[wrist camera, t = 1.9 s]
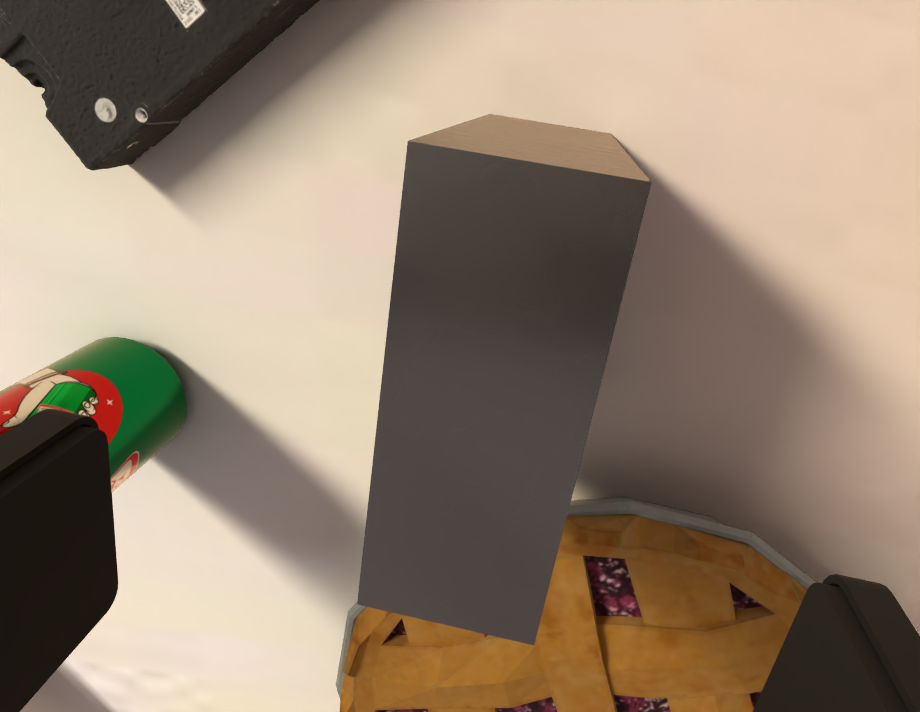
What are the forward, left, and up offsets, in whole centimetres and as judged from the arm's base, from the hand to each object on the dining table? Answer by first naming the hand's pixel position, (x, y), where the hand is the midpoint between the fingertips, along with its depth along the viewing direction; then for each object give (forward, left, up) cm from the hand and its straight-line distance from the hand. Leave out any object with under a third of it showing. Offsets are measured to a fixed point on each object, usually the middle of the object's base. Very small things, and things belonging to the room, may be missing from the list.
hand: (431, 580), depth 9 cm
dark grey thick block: (0, 0, -16) cm, 16 cm away
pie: (-7, +18, -17) cm, 25 cm away
